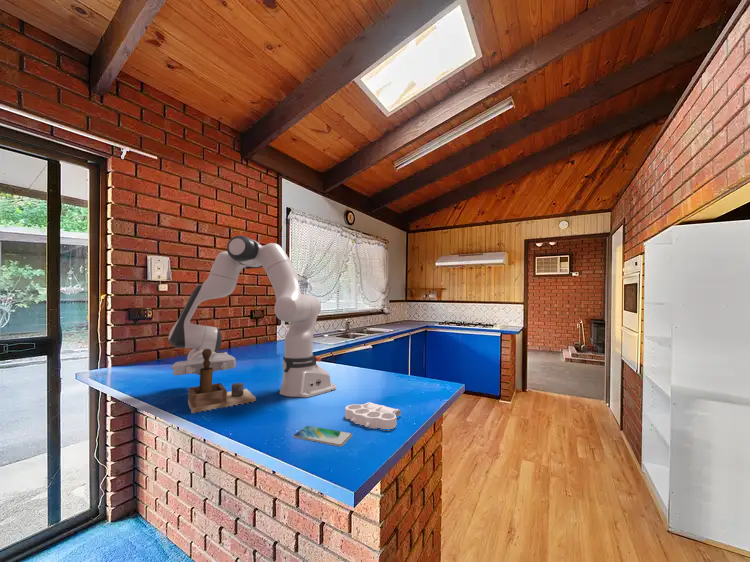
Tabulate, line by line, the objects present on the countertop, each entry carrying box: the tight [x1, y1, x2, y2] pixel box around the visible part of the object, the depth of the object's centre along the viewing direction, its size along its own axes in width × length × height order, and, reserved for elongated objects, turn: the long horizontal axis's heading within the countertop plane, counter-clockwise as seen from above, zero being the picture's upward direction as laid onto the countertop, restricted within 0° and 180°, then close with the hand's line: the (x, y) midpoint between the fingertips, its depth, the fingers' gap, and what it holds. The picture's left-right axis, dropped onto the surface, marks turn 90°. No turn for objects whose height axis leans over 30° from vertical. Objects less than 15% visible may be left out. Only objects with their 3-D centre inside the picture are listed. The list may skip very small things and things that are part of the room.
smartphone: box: [292, 425, 353, 447], centre depth 85 cm, size 7×1×15 cm
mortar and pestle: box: [197, 349, 214, 394], centre depth 109 cm, size 7×6×18 cm
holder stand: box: [187, 382, 257, 414], centre depth 112 cm, size 20×13×6 cm, turn 126°
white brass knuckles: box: [344, 402, 402, 430], centre depth 96 cm, size 3×18×15 cm
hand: (208, 369), depth 109 cm, fingers open, 8 cm apart
